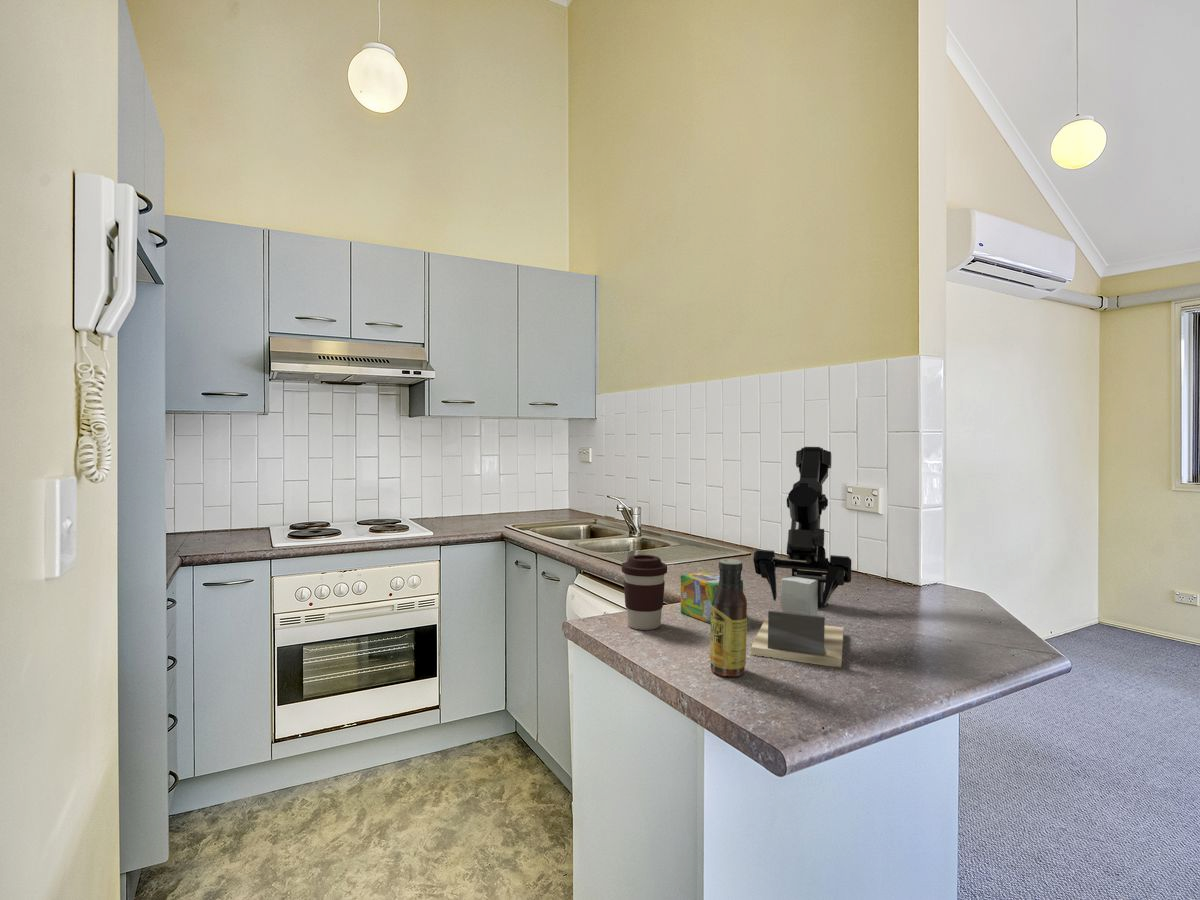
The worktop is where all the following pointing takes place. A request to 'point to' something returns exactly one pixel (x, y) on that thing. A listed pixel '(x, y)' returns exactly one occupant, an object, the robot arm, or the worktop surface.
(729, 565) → the sauce bottle
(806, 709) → the worktop surface
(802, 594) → the skincare box
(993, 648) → the worktop surface
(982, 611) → the worktop surface
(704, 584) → the chalk box
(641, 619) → the coffee cup
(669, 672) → the worktop surface
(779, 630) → the base with upright panel
